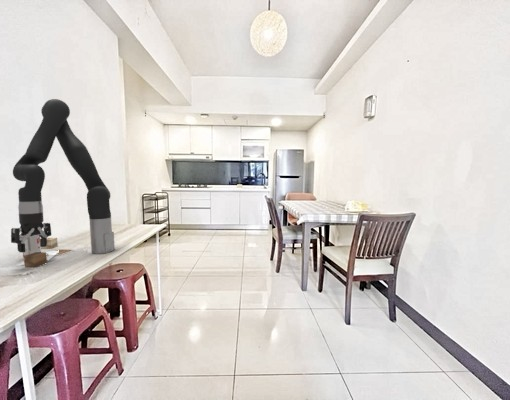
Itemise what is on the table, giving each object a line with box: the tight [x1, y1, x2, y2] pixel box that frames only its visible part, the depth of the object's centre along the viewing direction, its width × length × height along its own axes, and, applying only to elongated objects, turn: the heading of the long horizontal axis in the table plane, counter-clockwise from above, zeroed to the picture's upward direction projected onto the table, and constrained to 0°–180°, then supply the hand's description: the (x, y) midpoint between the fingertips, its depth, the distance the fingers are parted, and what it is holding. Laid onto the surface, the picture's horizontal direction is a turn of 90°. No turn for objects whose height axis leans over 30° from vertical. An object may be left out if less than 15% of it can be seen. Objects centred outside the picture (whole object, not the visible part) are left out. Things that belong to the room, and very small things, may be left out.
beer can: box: [22, 235, 42, 259], centre depth 111 cm, size 6×6×16 cm
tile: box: [55, 248, 75, 256], centre depth 119 cm, size 8×8×1 cm
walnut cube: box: [23, 251, 48, 268], centre depth 102 cm, size 5×5×5 cm
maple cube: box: [41, 237, 59, 250], centre depth 128 cm, size 5×5×5 cm
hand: (33, 249), depth 102 cm, fingers open, 8 cm apart
